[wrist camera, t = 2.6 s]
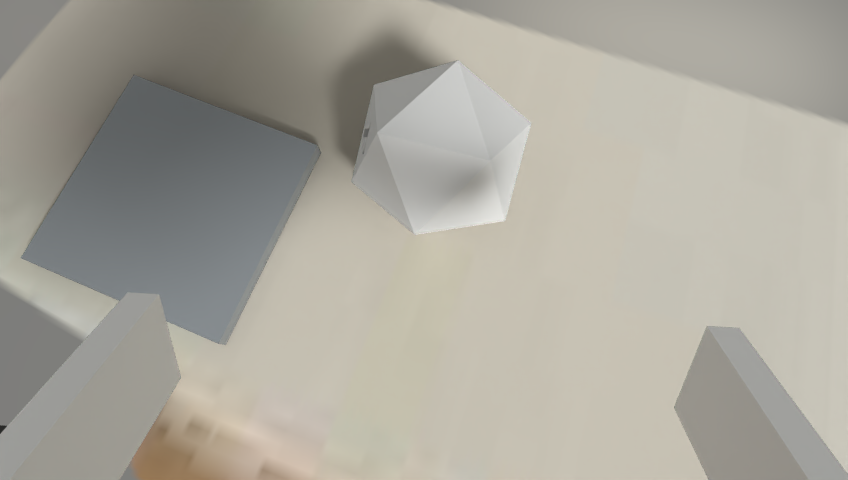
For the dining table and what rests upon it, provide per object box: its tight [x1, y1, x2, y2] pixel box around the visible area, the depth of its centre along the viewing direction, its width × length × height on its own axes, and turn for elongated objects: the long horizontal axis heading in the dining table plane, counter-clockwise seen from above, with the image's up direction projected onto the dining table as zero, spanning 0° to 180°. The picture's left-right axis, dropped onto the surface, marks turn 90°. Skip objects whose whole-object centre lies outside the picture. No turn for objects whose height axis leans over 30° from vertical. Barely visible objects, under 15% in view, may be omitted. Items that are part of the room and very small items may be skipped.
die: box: [351, 60, 531, 235], centre depth 27 cm, size 8×9×10 cm
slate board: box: [21, 75, 321, 345], centre depth 29 cm, size 12×12×1 cm
